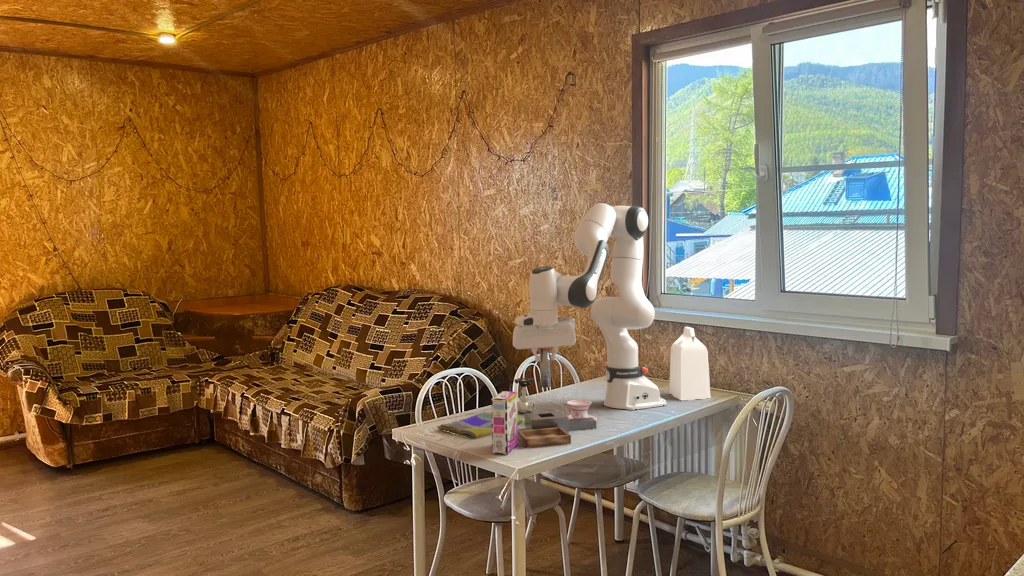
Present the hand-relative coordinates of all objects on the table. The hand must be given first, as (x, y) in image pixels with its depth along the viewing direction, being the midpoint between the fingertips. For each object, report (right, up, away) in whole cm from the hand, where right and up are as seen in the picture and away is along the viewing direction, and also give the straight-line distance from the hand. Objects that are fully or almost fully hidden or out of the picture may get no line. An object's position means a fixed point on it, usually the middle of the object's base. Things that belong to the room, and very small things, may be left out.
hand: (545, 361), depth 246 cm
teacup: (+12, -22, +14) cm, 28 cm away
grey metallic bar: (0, -8, +1) cm, 8 cm away
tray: (-1, -24, -10) cm, 26 cm away
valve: (-6, -21, +26) cm, 34 cm away
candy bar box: (-12, -25, -18) cm, 33 cm away
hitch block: (+5, -22, +3) cm, 23 cm away
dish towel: (-21, -23, +8) cm, 32 cm away
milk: (+56, -18, +44) cm, 74 cm away
